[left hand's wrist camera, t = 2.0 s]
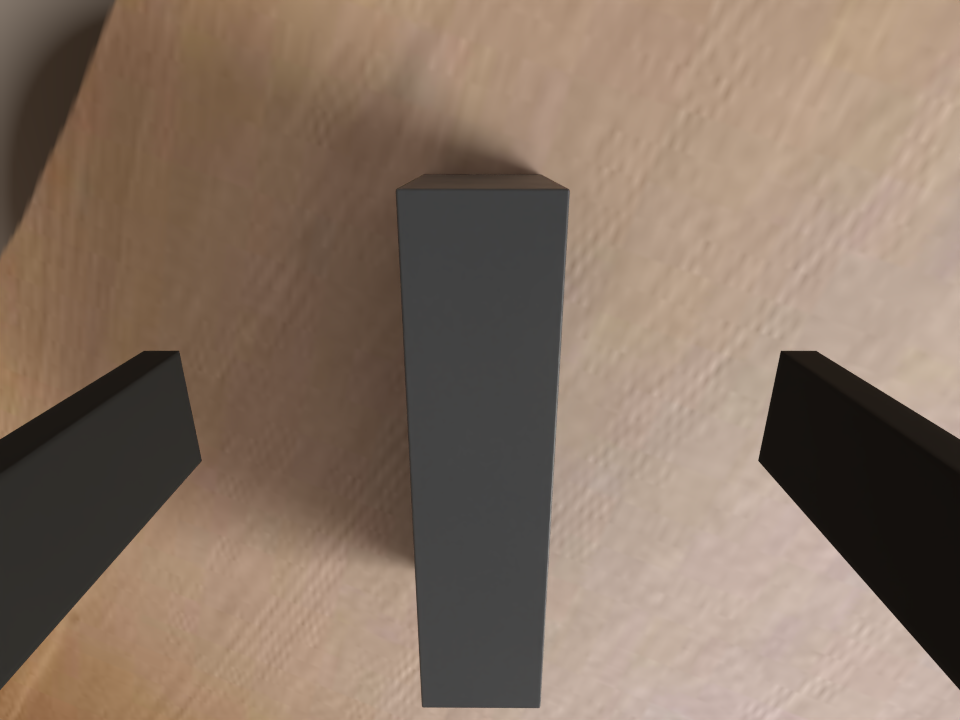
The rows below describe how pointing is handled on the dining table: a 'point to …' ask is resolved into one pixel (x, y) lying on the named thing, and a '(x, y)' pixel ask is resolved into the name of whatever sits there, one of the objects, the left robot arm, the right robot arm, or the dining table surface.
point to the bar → (481, 425)
